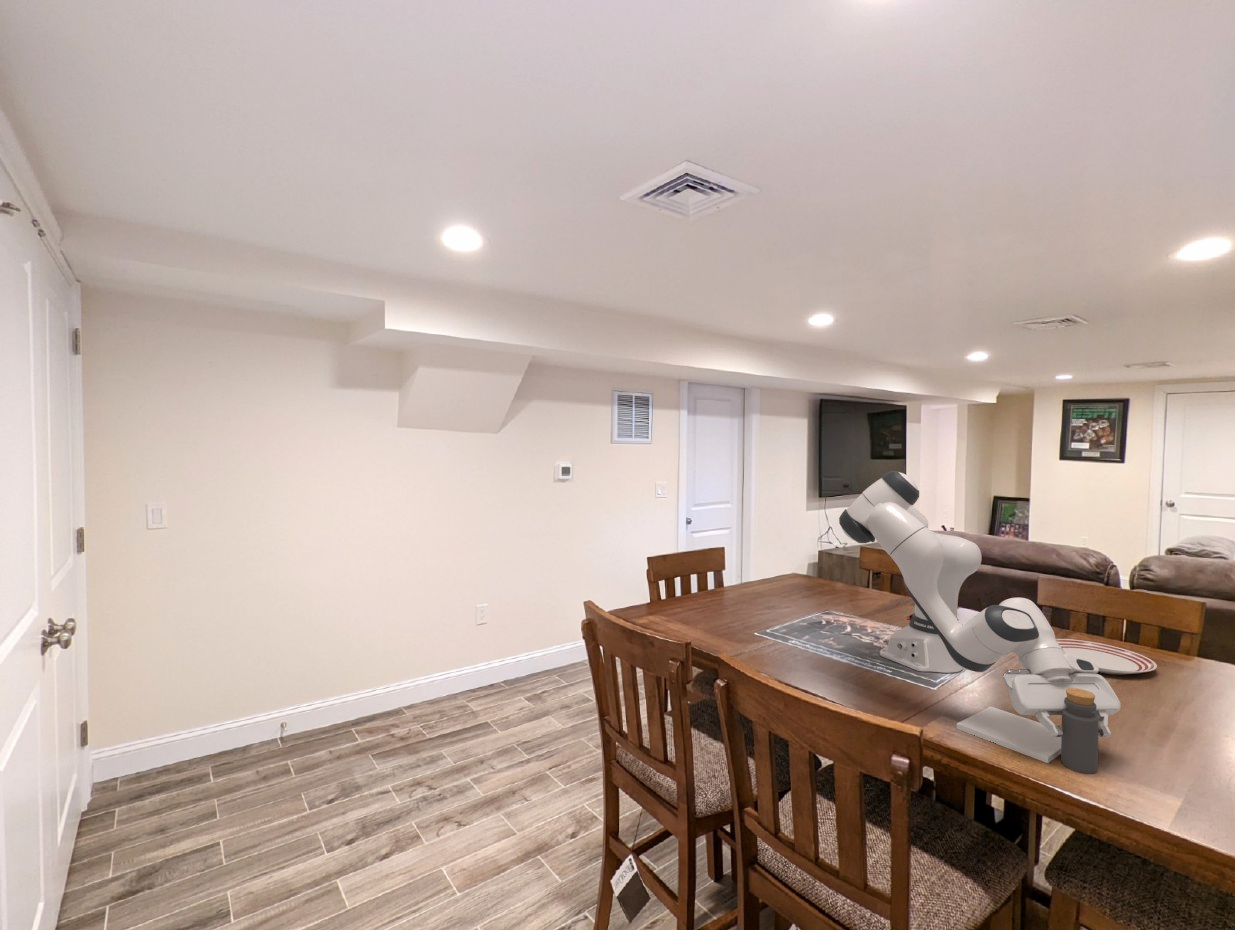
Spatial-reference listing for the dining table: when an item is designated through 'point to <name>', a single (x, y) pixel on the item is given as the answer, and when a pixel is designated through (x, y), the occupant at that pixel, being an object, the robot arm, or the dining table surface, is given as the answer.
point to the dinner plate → (1107, 657)
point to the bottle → (1080, 732)
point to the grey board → (1013, 733)
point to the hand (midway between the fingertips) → (1081, 736)
